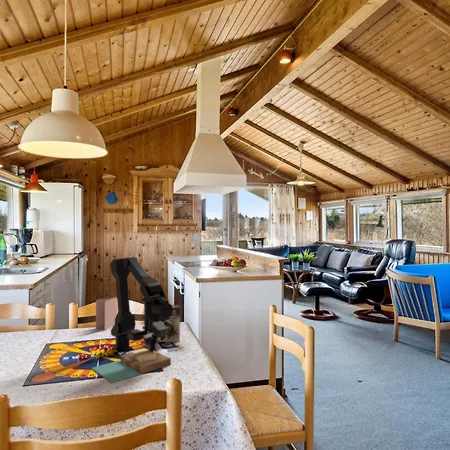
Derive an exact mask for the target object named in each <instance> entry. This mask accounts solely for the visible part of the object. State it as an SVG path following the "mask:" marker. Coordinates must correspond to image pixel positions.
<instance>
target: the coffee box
mask: <svg viewBox="0 0 450 450" xmlns="http://www.w3.org/2000/svg"><path fill="white" fill-rule="evenodd" d="M171 305H172V304H171ZM172 308H173V313H172V315H171V316H170V317H169V318H162V317H161V321H162V322H167V321H170V322H171V324H173V325H174V327H175V331H174V332H171V333H168V332H167V334H166V335H165V336H164V335H163V336H162V337H160V338H159V339H158V341H159V342H165V343H176V342H180V341H181V340H180V338H181V337H180V335H181V334H180V333H181V306H180V305H179V304H173V305H172Z"/></svg>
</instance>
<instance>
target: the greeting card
mask: <svg viewBox="0 0 450 450" xmlns="http://www.w3.org/2000/svg"><path fill="white" fill-rule="evenodd" d="M117 314H118V302H117V296H115V297H106V298H100V299H96V300H95V329H100V328H104V331H107V330H109V329H112V328H113V326H114V325H115V318H116V316H117Z"/></svg>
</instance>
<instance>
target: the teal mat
mask: <svg viewBox="0 0 450 450" xmlns="http://www.w3.org/2000/svg"><path fill="white" fill-rule="evenodd" d="M91 370H93V371H94V372H95V373H97V374H99V375H100V376H101V377H102V378H104V379H105V380H107V381H108V382H109V383H111V384H114V383H117V382H121V381H125V380H128V379H131V378H134V377H137V376H141V374H140V373H139V372H137V371H135V370H134V369H132V368H130V367H128V366H127V365H125V364H123V363H122V362H121V360H117V361H113V362H109V363H105V364H102V365H97V366H94V367H93V366H92V367H91Z"/></svg>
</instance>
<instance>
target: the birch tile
mask: <svg viewBox="0 0 450 450" xmlns="http://www.w3.org/2000/svg"><path fill="white" fill-rule="evenodd" d="M147 349H148V348H145V347H144V348H139V349H135V350H131V351H130V353H131V357H133V358H134V359H136V360H138V361H140V362H142V363H143V362H147V361H150V360H154V359H156V354H155V353H153V352H151V351H149V350H147Z"/></svg>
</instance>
